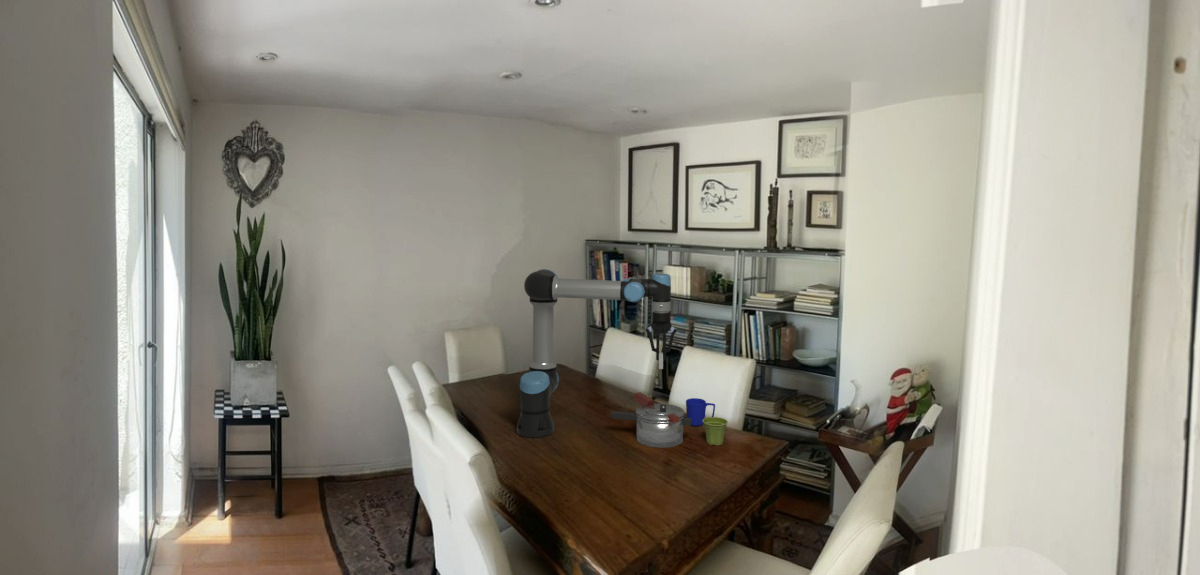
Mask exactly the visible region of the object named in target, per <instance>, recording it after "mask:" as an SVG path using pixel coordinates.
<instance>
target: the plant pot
mask: <svg viewBox="0 0 1200 575" xmlns="http://www.w3.org/2000/svg"><path fill="white" fill-rule="evenodd" d="M727 425H728V420H727V419H725V418H723V417H718V416H717V417H716V416H714V417H712V416H708V417H705V418H704V419H703V426H704V431H705V440H706V443H707V444H708V445H710V446H713V445H715V446H720V445H723V444H724V441H725V440H724V439H725V432H726V428H727Z"/></svg>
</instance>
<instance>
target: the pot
mask: <svg viewBox="0 0 1200 575" xmlns="http://www.w3.org/2000/svg"><path fill="white" fill-rule="evenodd" d="M684 416H685V415H684ZM684 416H683V417H682V418H680V419H679V422H676V423H672V422H670V421H651V420H646V419H643V418H640V417H639V416H637V415H636V412H628V411H627V412H626V411H618V410H617V411H616V410H612V411H611V412H610V418H611V419H617V420H629V421H636V440H637V442H638V443H639V444H641V445H643V446H646V447H651V448H659V449H660V448H661V449H665V448H672V447H673V448H674V447H677V446H679V445H681V444H682V443H683V441H684V426H687V427H688V426H689V427H690V426H692V425H691V422H692V418H687V417H684Z"/></svg>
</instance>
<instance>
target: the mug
mask: <svg viewBox="0 0 1200 575" xmlns="http://www.w3.org/2000/svg"><path fill="white" fill-rule="evenodd" d="M708 406H712V407H713V409H712V414H711V417H715V410H716V404H715V403H711V402H707V401H706V400H705V399H702V398H698V397H697V398H696V397H694V398H693V397H691V398H688V399H686V400H685V408H686V418H692V422H691V426H692V425H693V427H701V426H702V425H703V426H704V423H703V419H704V418H706V411H707V407H708Z"/></svg>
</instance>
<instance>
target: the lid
mask: <svg viewBox="0 0 1200 575" xmlns="http://www.w3.org/2000/svg"><path fill="white" fill-rule="evenodd" d="M634 401H636V402H637V403H639V404H641V405H639V406H638V407H637V408H636V409H635V413H636V415H637V416H639V417H640V418H643V419H646V420H651V421H670V422H672V423H676V422H679V419H680V418H682V417H683V416H685V410H684V409H683V408H682V407H680V406H677V405H675V404H674V405H673V404H669V403H654V402H655V400H654V399H652V398H651V397H649V396H648V395H646V394H644V393H643V392H640V391H639V392H634Z"/></svg>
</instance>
